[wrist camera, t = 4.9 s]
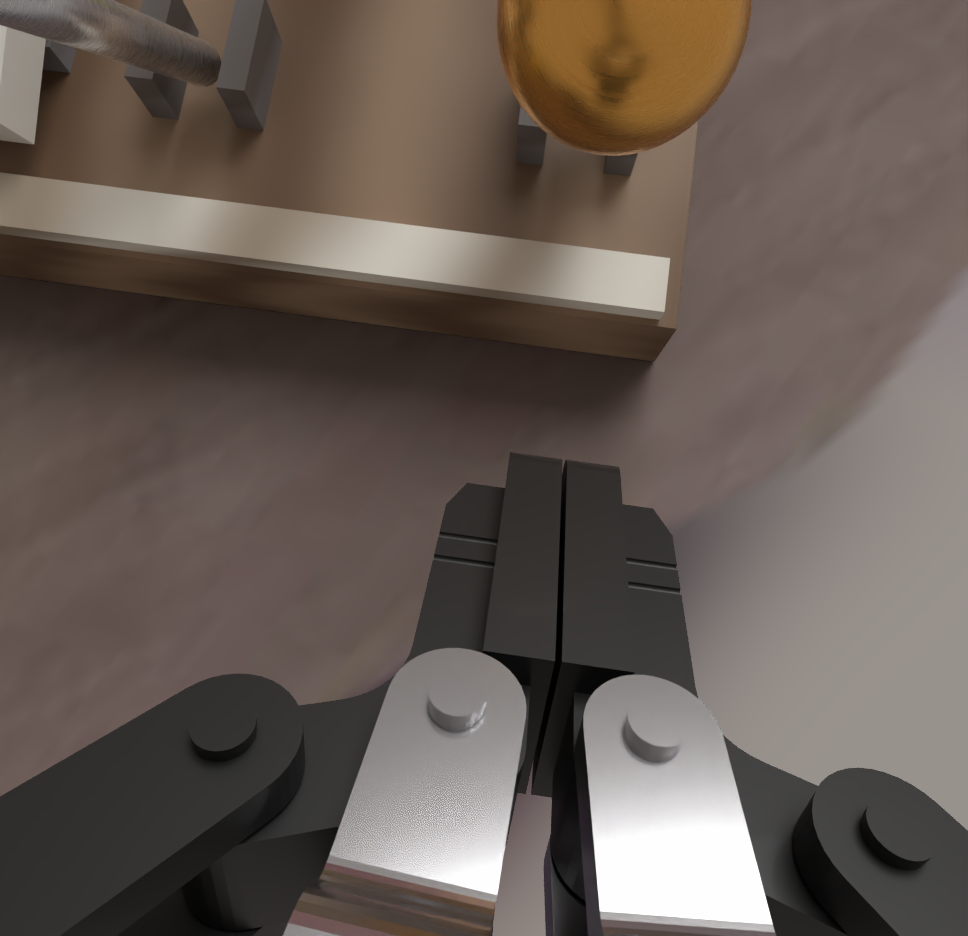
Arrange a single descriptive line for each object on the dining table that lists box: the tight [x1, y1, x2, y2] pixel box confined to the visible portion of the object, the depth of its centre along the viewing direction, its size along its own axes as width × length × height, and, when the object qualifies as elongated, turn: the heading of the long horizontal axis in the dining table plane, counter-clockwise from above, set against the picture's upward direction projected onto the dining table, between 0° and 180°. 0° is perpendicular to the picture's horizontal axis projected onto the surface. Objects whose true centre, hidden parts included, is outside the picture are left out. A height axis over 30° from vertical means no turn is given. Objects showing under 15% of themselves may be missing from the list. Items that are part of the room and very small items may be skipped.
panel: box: [0, 0, 698, 361], centre depth 23 cm, size 25×12×5 cm, turn 82°
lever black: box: [0, 0, 221, 87], centre depth 15 cm, size 3×3×14 cm
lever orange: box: [497, 0, 752, 156], centre depth 15 cm, size 3×3×13 cm
